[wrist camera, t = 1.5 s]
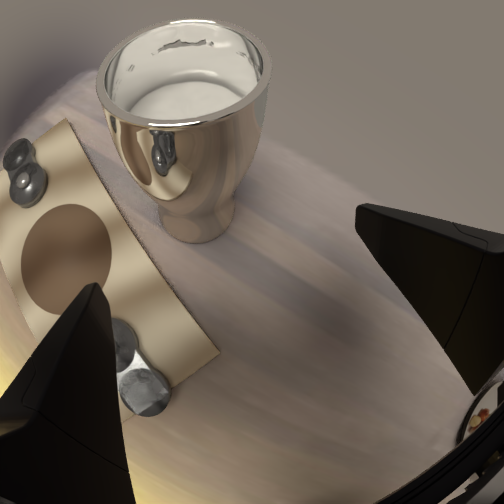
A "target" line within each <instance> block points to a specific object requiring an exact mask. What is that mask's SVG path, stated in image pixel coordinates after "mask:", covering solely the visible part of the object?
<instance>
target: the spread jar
mask: <svg viewBox="0 0 504 504" xmlns="http://www.w3.org/2000/svg"><path fill="white" fill-rule="evenodd" d="M502 382H503V381H502ZM502 382H498V383H496V384H494V385H493V386H491V387H490V388H488V389H487V390H486V391H485V392H484V393H483V394H482V395H481V396H480V397H479V398H478V399H477V400H476V401H475V402H474V404H473V405H472V407H471V408H470V410H469V412H468V414H467V416H466V419H465V421H464V424H463V428H462V433H461V442H462V441H463V440H464V439H465V438H466V437H467V436H469V435H470V434H471V433H472V432H473V431H474V430H475V429H476V428H477V427H478V426H479V425H480V424H481V423H482V422H483V421H484V420H485V419H486V418H487V417H488V416H489V415H490V414H491V413H492V412H493V411H494V410H495V409H496V408H497V388H498V387H499V386H500V385H501V383H502ZM478 478H479V477H478V476H477V474H476V473H474V474H473V475H472V476H470V477H469V479H470V483H472V482H474V481H475V480H477V479H478Z"/></svg>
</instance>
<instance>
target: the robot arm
mask: <svg viewBox="0 0 504 504" xmlns="http://www.w3.org/2000/svg"><path fill="white" fill-rule="evenodd" d="M355 229H356V232H357V233H358V235H359V236H360V238H361V239H362V241H363V242H364V243H365V245H366V246H367V248H368V249H369V251H370V252H371V254H372V255H373V257H374V258H375V260H376V261H377V262H378V264H379V265H380V266H381V267H382V269H383V270H384V271H385V272H386V274H387V275H388V276H389V277H390V278H391V280H392V281H393V282H394V283H395V285H396V286H397V287H398V289H399V290H400V291H401V292H402V294H403V295H404V296H405V298H406V299H407V300H408V301H409V303H410V304H411V305H412V307H413V308H414V309H415V311H416V312H417V313H418V315H419V316H420V317H421V319H422V320H423V321H424V323H425V324H426V326H427V327H428V328H429V330H430V331H431V332H432V334H433V335H434V337H435V338H436V339H437V341H438V342H439V344H440V345H441V347H442V348H443V349H444V351H445V353H446V354H447V356H448V357H449V359H450V360H451V362H452V363H453V365H454V366H455V368H456V369H457V371H458V372H459V374H460V375H461V377H462V378H463V380H464V382H465V383H466V385H467V386H468V388H469V390H470V391H471V393H472V394H473V395H474V396H475V395H476V394H478V393H479V392H480V391H481V390H482V389H483V388H484V387H485V386H486V385H487V384H488V383H489V382H490V381H491V380H492V379H493V378H494V377H495V376H496V375H497V374H498V373H499V372H500V371H501V370H502V368H503V367H504V234H500V233H495V232H491V231H487V230H483V229H478V228H474V227H470V226H466V225H461V224H458V223H454V222H452V223H451V222H450V221H446V220H442V219H437V218H434V217H430V216H425V215H421V214H417V213H412V212H408V211H403V210H398V209H394V208H389V207H384V206H379V205H374V204H369V203H365V204H361V205H358V206H357V208H356V217H355ZM474 473H476V474H477V476H478V477H479V478H478V479H477V480H475V481H474V482H472V483H471V484H469V485H468V486H467V487H466V488H465V490H466V492H464V493H463V494H461V495H459V496H458V497H456V498H454V499H452V500H450V501H449V502H448V503H447V504H504V381H503V382H502V383H501V385H500V386H499V387H498V388H497V408H496V409H495V410H494V411H493V412H492V413H491V414H490V415H489V416H488V417H487V418H486V419H485V420H484V421H483V422H482V423H481V424H480V425H479V426H478V427H477V428H476V429H475V430H474V431H473V432H472V433H471V434H470V435H469V436H467V437H466V438H465V439H464V440H463V441H462V442H461V443H460V444H458V445H457V446H456V447H455V448H454V449H452V450H451V451H450V452H449V453H448V454H446V455H445V456H444V457H443V458H441V459H440V460H439V461H437V462H436V463H435V464H434V465H432V466H431V467H430V468H428V469H427V470H425V471H424V472H423V473H421V474H420V475H418V476H417V477H416V478H414V479H413V480H411V481H410V482H408V483H407V484H405V485H404V486H402V487H400V488H399V489H397V490H396V491H394V492H392V493H391V494H389V495H387V496H386V497H384V498H382V499H381V500H379V501H377V502H375V503H373V504H438V503H439V502H441V501H442V500H443V499H444V498H446V497H447V496H448V495H450V494H451V493H452V492H453V491H454V490H456V489H457V488H458V487H459V486H460V485H461V484H463V483H464V482H465V481H466V480H467V479H468V478H469V477H470V476H472V475H473V474H474ZM0 504H136V501H135V497H134V493H133V488H132V483H131V479H130V474H129V469H128V464H127V458H126V452H125V446H124V440H123V432H122V425H121V417H120V408H119V397H118V385H117V371H116V351H115V341H114V334H113V327H112V318H111V310H110V304H109V302H108V300H107V298H106V296H105V294H104V292H103V290H102V288H101V287H100V285H99V284H98V283H97V282H93V283H90V284H87V285H85V286H84V287H83V289H82V290H81V291H80V292H79V293H78V295H77V296H76V297H75V298H74V300H73V301H72V302H71V303H70V304H69V306H68V307H67V308H66V309H65V311H64V312H63V313H62V315H61V316H60V317H59V318H58V320H57V321H56V322H55V324H54V325H53V326H52V327H51V329H50V330H49V331H48V333H47V334H46V335H45V337H44V338H43V339H42V341H41V342H40V344H39V345H38V346H37V348H36V349H35V350H34V352H33V353H32V355H31V357H29V359H28V360H27V362H26V363H25V365H24V366H23V368H22V369H21V370H20V372H19V373H18V375H17V376H16V378H15V379H14V380H13V382H12V383H11V384H10V386H9V387H8V388H7V390H6V391H5V392H4V394H3V395H2V397H1V398H0Z"/></svg>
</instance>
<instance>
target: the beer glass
mask: <svg viewBox="0 0 504 504" xmlns="http://www.w3.org/2000/svg"><path fill="white" fill-rule="evenodd" d="M271 75H272V61H271V57H270V54H269V52H268V50H267V49H266V47H265V46H264V44H262V42H261V41H260V40H259V39H258V38H257V37H256V36H254V35H253V34H251V33H250V32H248V31H247V30H245V29H243V28H241V27H239V26H237V25H234V24H231V23H228V22H224V21H220V20H215V19H208V18H182V19H175V20H169V21H164V22H160V23H157V24H154V25H151V26H148V27H146V28H144V29H141V30H139V31H137V32H135V33H134V34H132V35H130V36H129V37H127V38H126V39H124V40H123V41H121V42H120V43H119V44H118V45H117V46H116V47H114V48H113V49H112V50H111V51H110V53H109V54H108V55H107V56H106V58H105V59H104V61H103V62H102V64H101V66H100V68H99V71H98V74H97V78H96V92H97V95H98V98H99V100H100V102H101V105H102V108H103V111H104V115H105V118H106V122H107V125H108V128H109V131H110V134H111V137H112V140H113V143H114V145H115V147H116V150H117V152H118V154H119V156H120V158H121V160H122V162H123V164H124V166H125V167H126V169H127V171H128V172H129V174H130V176H131V177H132V178H133V180H134V181H135V182H136V183H137V184H138V186H139V187H140V188H141V189H142V190H143V191H144V192H145V193H146V194H147V195H148V196H149V197H150V198H151V199H152V200H153V201H155V202H156V203H157V204H158V213H159V218H160V221H161V223H162V225H163V227H164V228H165V229H166V231H167V232H168V233H169V234H171V235H172V236H173V237H175V238H176V239H178V240H180V241H183V242H186V243H194V244H196V243H204V242H208V241H211V240H213V239H215V238H217V237H218V236H220V235H221V234H222V233H223V232H224V231H225V230H226V229H227V228H228V226H229V225H230V223H231V221H232V219H233V215H234V210H235V201H234V196H233V193H234V192H235V190H236V189H237V187H238V186H239V184H240V183H241V181H242V180H243V178H244V176H245V174H246V172H247V171H248V169H249V167H250V165H251V163H252V161H253V158H254V155H255V152H256V149H257V146H258V143H259V140H260V136H261V131H262V127H263V122H264V117H265V110H266V103H267V94H268V87H269V81H270V79H271Z"/></svg>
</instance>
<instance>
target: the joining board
mask: <svg viewBox="0 0 504 504" xmlns="http://www.w3.org/2000/svg"><path fill="white" fill-rule="evenodd" d="M32 145H33V146H34V147H35V150H36V155H35V158H36V160H37V163H38V164H39V165H40V166H41V167H42V168H43V169H44V170H45V171H46V173H47V175H48V187H47V190H46V192H45V194H44V196H43V198H42V199H41V200H40V201H39V202H38V203H37V204H36V205H35V206H33V207H31V208H22V207H20V206H19V205H17V204H16V203H15V202H13V201H12V200H11V198H10V194H9V188H10V179H9V176H8V172H7V171H6V170H5V169H3V170H2V171H1V172H0V260H1V263H2V266H3V268H4V271H5V274H6V276H7V279H8V281H9V284H10V286H11V289H12V291H13V293H14V296H15V298H16V300H17V302H18V305H19V307H20V309H21V311H22V313H23V315H24V317H25V319H26V321H27V324H28V325H29V327H30V329H31V331H32V333H33V335H34V337H35V339H36V341H37V343H38V344H40V342H41V341H42V339H43V338H44V337H45V335H46V334H47V333H48V331H49V330H50V329H51V327H52V326H53V325H54V324H55V322H56V321H57V320H58V318H59V317H60V316H61V315H62V313H63V312H64V311H65V309H66V308H67V307H68V306H69V304H70V303H71V302H72V301H73V300H74V298H75V297H76V296H77V295H78V293H79V292H80V291H81V290H82V289H83V287H84V286H85V285H87V284H90V283H93V282H97V283H98V284H99V285H100V287H101V288H102V290H103V292H104V294H105V296H106V298H107V300H108V302H109V304H110V310H111V317H112V318H119V319H121V320H124V321H125V322H127V323H128V324H129V325H130V326H131V327H132V328H133V329H134V331H135V332H136V334H137V337H138V340H139V348H140V350H141V351H142V353H143V354H144V355H145V357H146V358H147V359H148V361H149V362H150V363H151V364H152V366H153V367H154V368H156V369H158V370H160V371H161V372H162V373H163V374H164V375H165V376H166V377H167V379H168V381H169V383H170V386H171V389H172V388H173V387H175V386H176V385H178V384H179V383H180V382H182V381H183V380H185V379H186V378H187V377H189V376H190V375H192V374H193V373H194V372H196V371H197V370H198V369H200V368H201V367H202V366H204V365H205V364H206V363H208V362H209V361H210V360H212V359H213V358H214V357H216V356H217V355H218V354H220V351H219V350H218V349H217V348H216V346H215V345H214V344H213V343H212V341H211V340H210V339H209V338H208V336H207V335H206V334H205V333H204V331H203V330H202V329H201V328H200V326H199V325H198V324H197V322H196V321H195V320H194V318H193V317H192V316H191V315H190V313H189V312H188V311H187V309H186V308H185V307H184V305H183V304H182V303H181V301H180V300H179V298H178V297H177V296H176V294H175V293H174V292H173V290H172V289H171V287H170V286H169V285H168V283H167V282H166V281H165V279H164V278H163V276H162V275H161V273H160V272H159V271H158V269H157V268H156V266H155V265H154V263H153V262H152V261H151V259H150V258H149V256H148V255H147V253H146V252H145V250H144V249H143V247H142V246H141V244H140V243H139V241H138V240H137V238H136V237H135V235H134V234H133V232H132V231H131V229H130V227H129V226H128V224H127V223H126V221H125V220H124V218H123V216H122V215H121V213H120V212H119V210H118V208H117V207H116V205H115V204H114V202H113V200H112V199H111V197H110V195H109V194H108V192H107V190H106V189H105V187H104V185H103V184H102V182H101V180H100V179H99V177H98V175H97V173H96V172H95V170H94V168H93V166H92V165H91V163H90V161H89V159H88V157H87V156H86V154H85V152H84V150H83V148H82V147H81V145H80V143H79V141H78V139H77V137H76V135H75V133H74V131H73V130H72V128H71V126H70V124H69V122H68V120H67V119H66V118H65V119H63V120H62V121H61V122H59V123H58V124H57V125H55V126H54V127H52V128H51V129H50V130H49V131H47V132H46V133H45V134H43V135H42V136H41V137H40V138H38V139H37V140H36V141H35V142H33V143H32ZM118 397H119V408H120V417H121V423H122V422H124V421H125V420H127V419H128V418H130V417H131V416H133V415H134V414H135V413H133V412H132V411H130V410H129V409H128V408H127V407H126V406H125V405H124V403H123V402H122V400H121V397H120V394H119V391H118Z"/></svg>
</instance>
